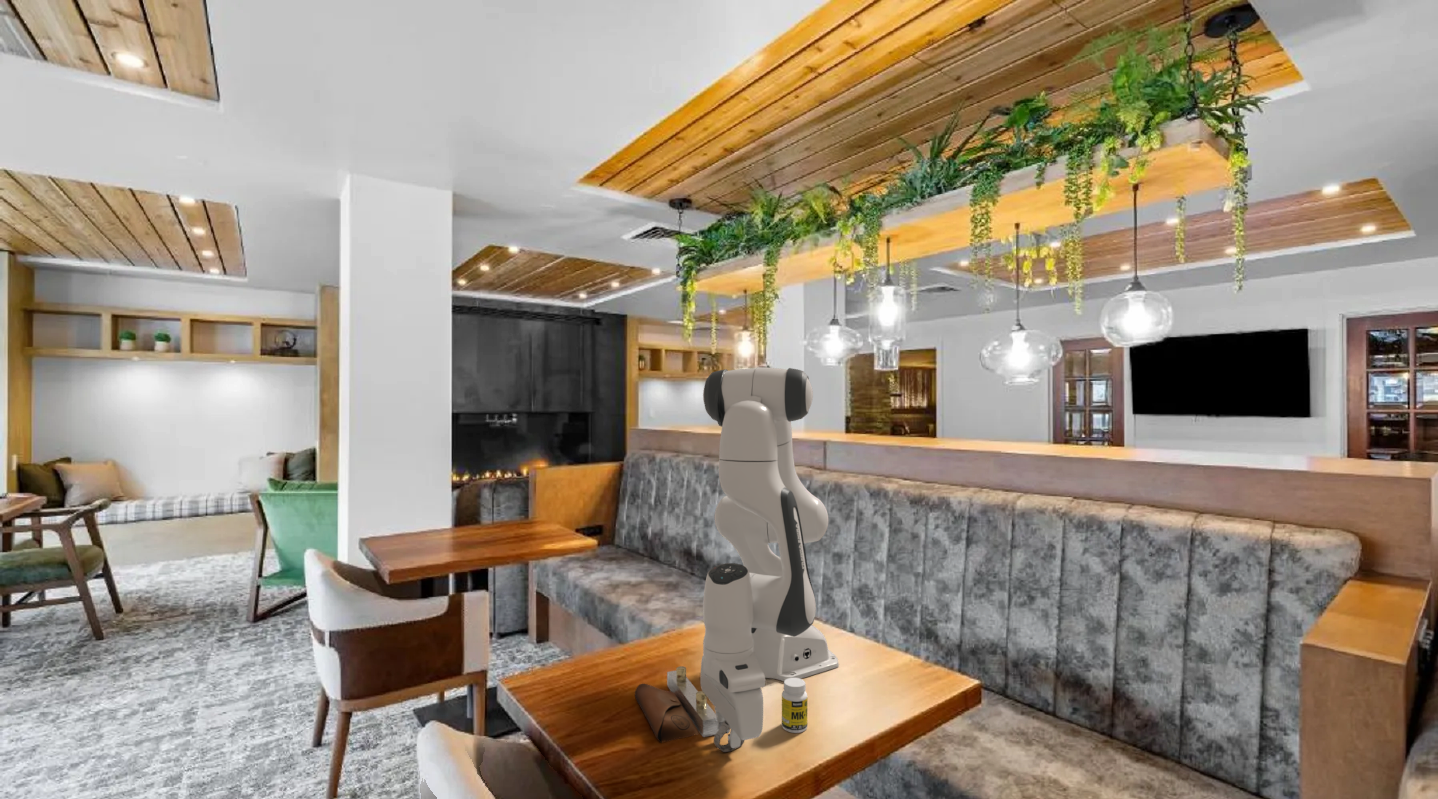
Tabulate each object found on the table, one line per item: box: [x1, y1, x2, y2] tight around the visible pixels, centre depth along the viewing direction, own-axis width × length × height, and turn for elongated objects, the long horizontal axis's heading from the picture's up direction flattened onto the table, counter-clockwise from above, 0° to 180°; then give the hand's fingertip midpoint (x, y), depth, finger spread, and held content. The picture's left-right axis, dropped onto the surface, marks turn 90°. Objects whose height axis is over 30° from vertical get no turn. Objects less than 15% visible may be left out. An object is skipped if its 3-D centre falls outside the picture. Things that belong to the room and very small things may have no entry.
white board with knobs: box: [666, 665, 719, 738], centre depth 127 cm, size 3×22×6 cm, turn 22°
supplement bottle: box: [781, 678, 809, 734], centre depth 120 cm, size 5×5×8 cm
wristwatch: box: [713, 720, 745, 753], centre depth 113 cm, size 4×6×5 cm, turn 128°
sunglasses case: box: [634, 682, 700, 744], centre depth 124 cm, size 18×7×7 cm
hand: (728, 738), depth 113 cm, fingers open, 3 cm apart
